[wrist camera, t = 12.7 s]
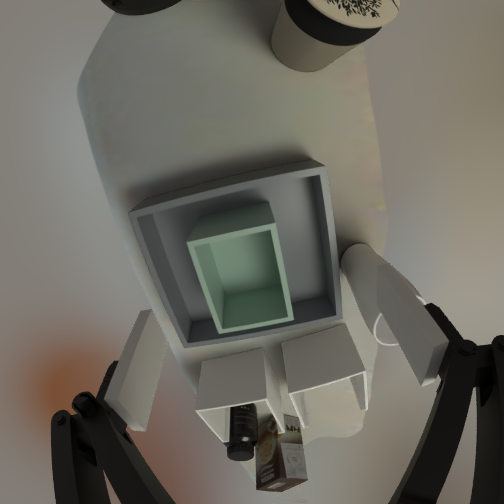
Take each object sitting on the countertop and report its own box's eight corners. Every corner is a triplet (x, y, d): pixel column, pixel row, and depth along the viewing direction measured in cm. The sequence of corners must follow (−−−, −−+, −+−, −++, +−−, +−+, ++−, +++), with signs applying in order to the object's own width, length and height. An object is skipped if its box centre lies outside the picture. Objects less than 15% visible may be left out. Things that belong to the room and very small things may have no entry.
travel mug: (282, 78, 30) (318, 36, 14) (262, 24, 27) (276, -52, 11) (343, 66, 29) (419, 29, 13) (322, 13, 26) (377, -54, 10)
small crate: (198, 217, 36) (186, 242, 29) (269, 201, 35) (275, 222, 28) (222, 297, 41) (218, 333, 34) (285, 284, 40) (294, 319, 33)
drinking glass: (325, 262, 40) (359, 330, 27) (358, 227, 38) (409, 282, 24) (354, 287, 42) (393, 355, 28) (386, 255, 40) (437, 314, 26)
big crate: (144, 199, 36) (128, 212, 30) (313, 159, 34) (325, 165, 29) (190, 322, 44) (184, 348, 39) (331, 294, 42) (342, 318, 37)
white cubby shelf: (345, 322, 45) (365, 370, 35) (351, 364, 49) (367, 409, 39) (202, 360, 48) (195, 410, 38) (225, 396, 52) (222, 442, 42)
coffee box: (275, 411, 55) (281, 477, 40) (299, 417, 56) (309, 479, 41) (253, 430, 58) (255, 490, 43) (277, 435, 59) (282, 492, 45)
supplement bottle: (251, 418, 55) (252, 465, 44) (220, 413, 54) (217, 460, 44) (261, 401, 53) (264, 451, 42) (228, 395, 52) (226, 447, 41)
